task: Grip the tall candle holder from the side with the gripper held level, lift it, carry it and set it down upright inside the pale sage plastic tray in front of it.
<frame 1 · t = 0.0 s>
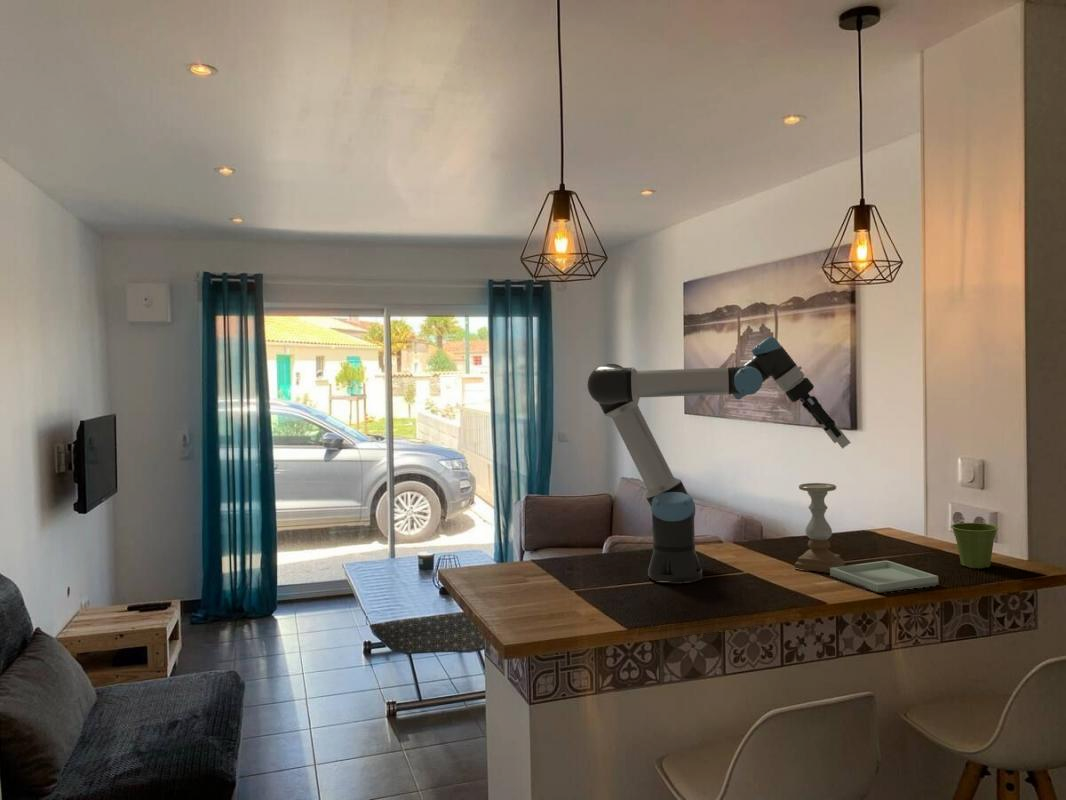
hand: (842, 443, 237), 36 cm above the worktop, tool tilted 35°, fingers open, 13 cm apart
candle holder: (819, 568, 240), on the worktop
plant pot: (974, 566, 235), on the worktop
tray: (882, 581, 223), on the worktop
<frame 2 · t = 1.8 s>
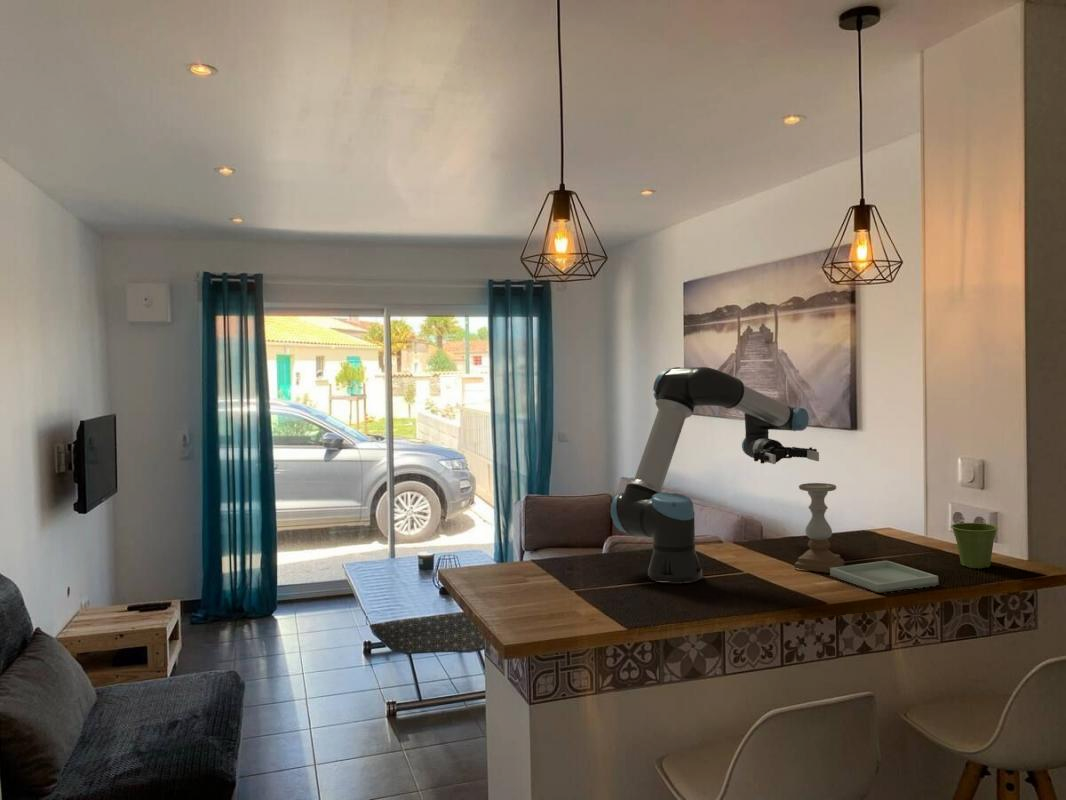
hand: (796, 458, 250), 30 cm above the worktop, tool horizontal, fingers open, 13 cm apart
nothing on the worktop moved.
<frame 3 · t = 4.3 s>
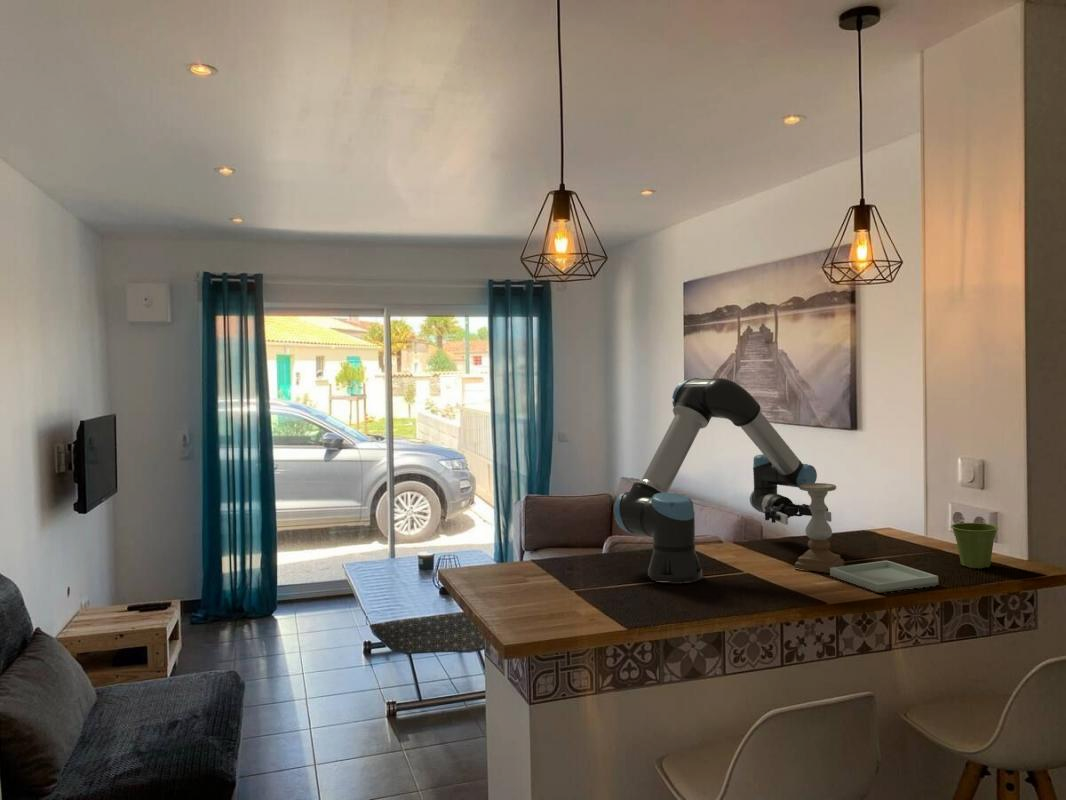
hand: (808, 518, 246), 13 cm above the worktop, tool horizontal, fingers open, 13 cm apart
nothing on the worktop moved.
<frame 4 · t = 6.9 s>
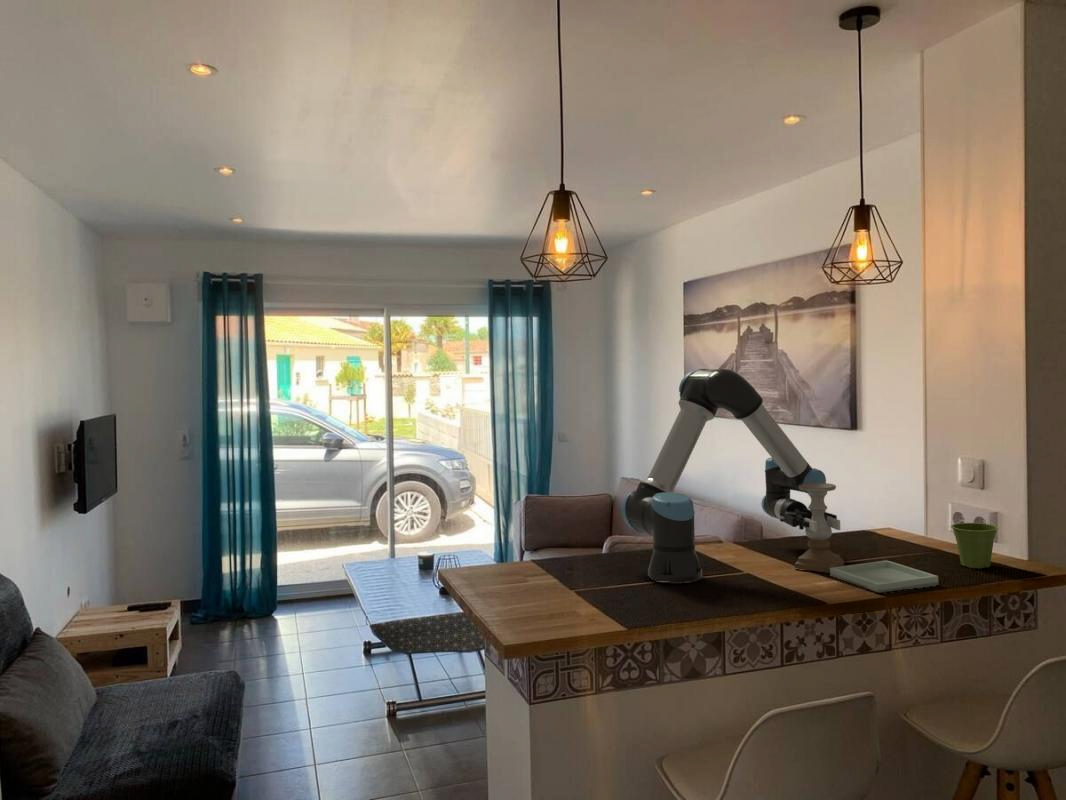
hand: (827, 526, 234), 13 cm above the worktop, tool horizontal, fingers closed on candle holder, 6 cm apart
candle holder: (819, 568, 240), on the worktop, touching gripper
everything else where it was.
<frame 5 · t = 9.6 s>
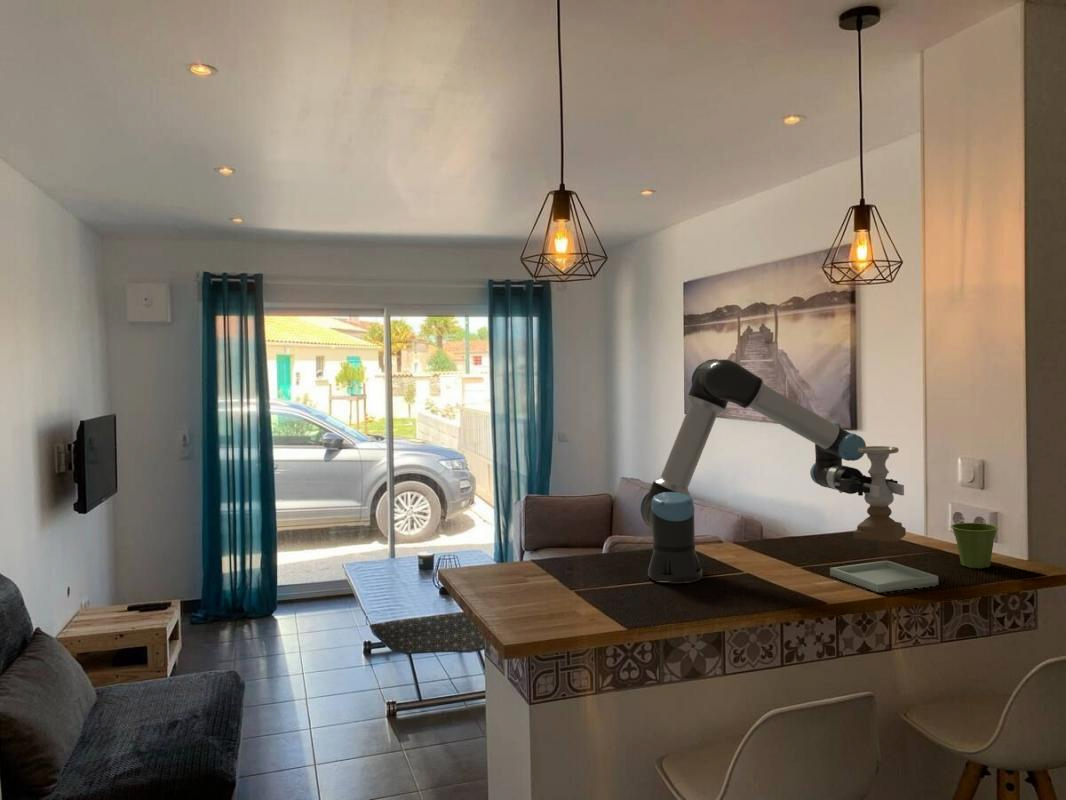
hand: (890, 491, 218), 25 cm above the worktop, tool horizontal, fingers closed on candle holder, 6 cm apart
candle holder: (879, 537, 223), point 12 cm above the worktop, touching gripper
everything else where it was.
when the fingers open (15 cm above the worktop, at t = 12.3 s): candle holder drops 1 cm, resting on tray.
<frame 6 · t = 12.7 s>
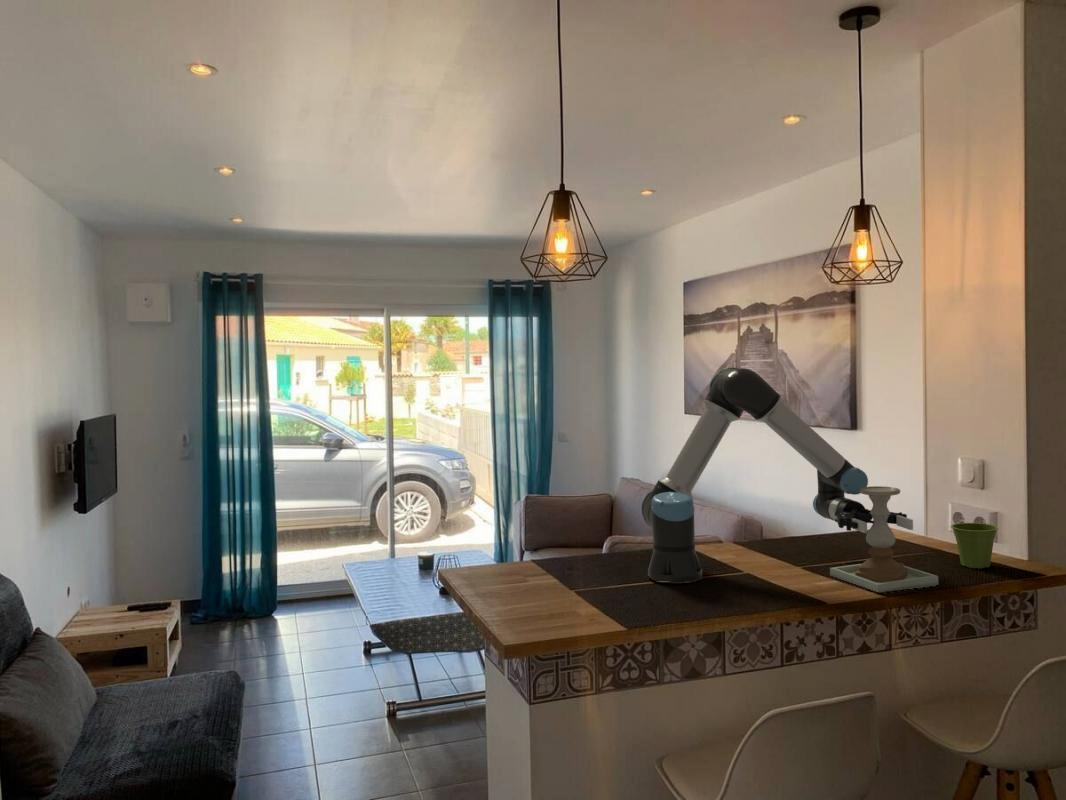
hand: (888, 526, 219), 15 cm above the worktop, tool horizontal, fingers open, 12 cm apart
candle holder: (881, 578, 223), point 1 cm above the worktop, touching tray
everything else where it was.
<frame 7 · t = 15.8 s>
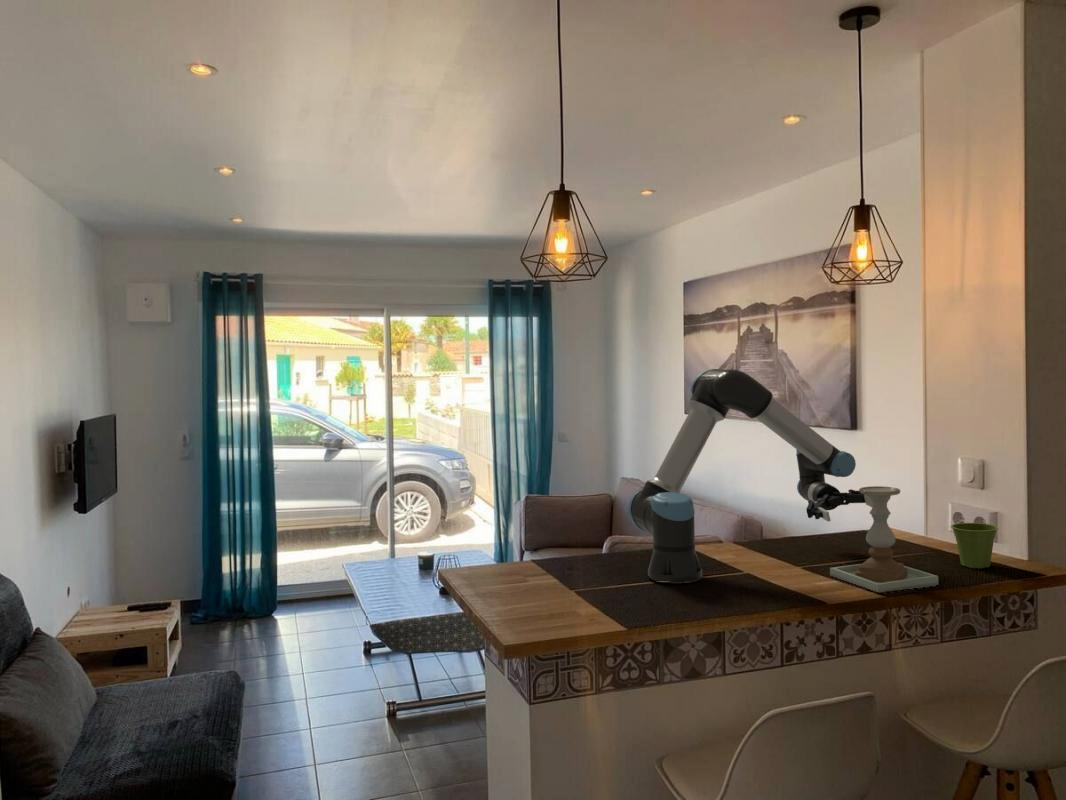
hand: (852, 510, 232), 18 cm above the worktop, tool horizontal, fingers open, 13 cm apart
nothing on the worktop moved.
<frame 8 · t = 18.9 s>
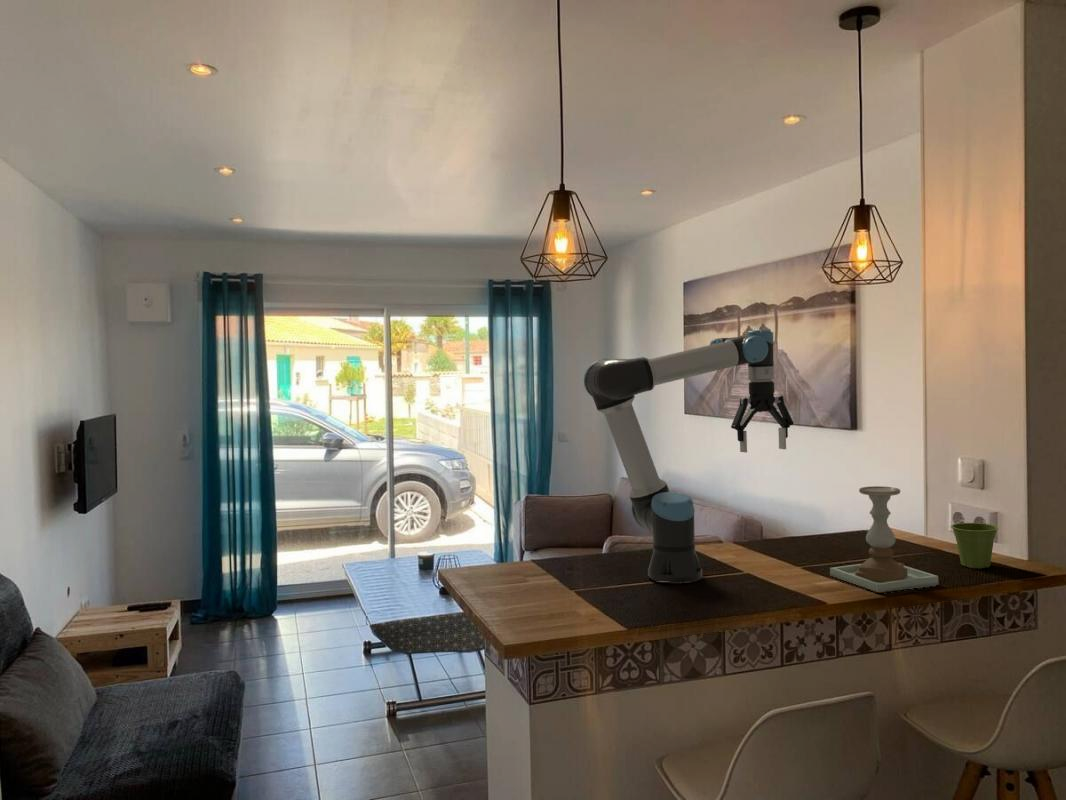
hand: (763, 450, 253), 33 cm above the worktop, tool pointing down, fingers open, 13 cm apart
nothing on the worktop moved.
at the end: candle holder 0.3 cm off-centre on the tray, point 0.8 cm above the tray's base; candle holder tilted 0°; the gripper is holding nothing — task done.
